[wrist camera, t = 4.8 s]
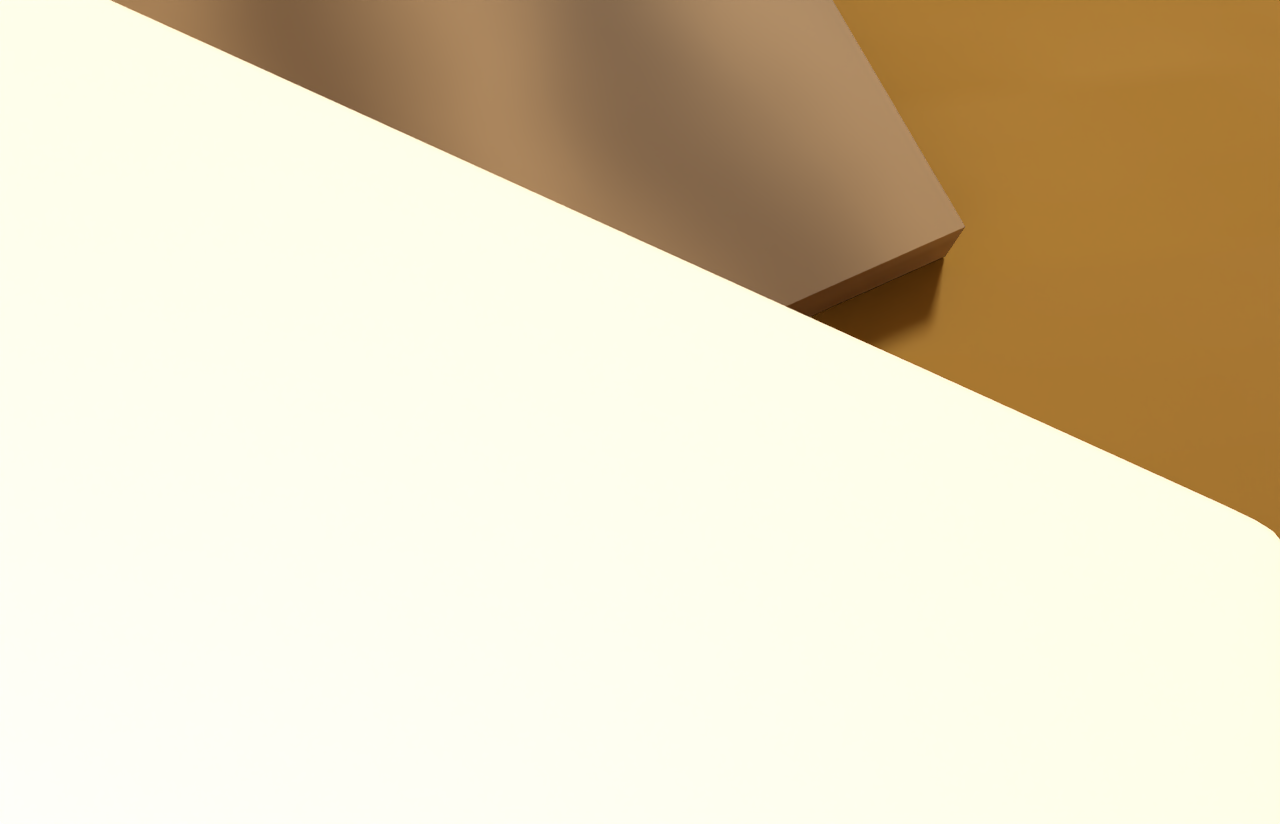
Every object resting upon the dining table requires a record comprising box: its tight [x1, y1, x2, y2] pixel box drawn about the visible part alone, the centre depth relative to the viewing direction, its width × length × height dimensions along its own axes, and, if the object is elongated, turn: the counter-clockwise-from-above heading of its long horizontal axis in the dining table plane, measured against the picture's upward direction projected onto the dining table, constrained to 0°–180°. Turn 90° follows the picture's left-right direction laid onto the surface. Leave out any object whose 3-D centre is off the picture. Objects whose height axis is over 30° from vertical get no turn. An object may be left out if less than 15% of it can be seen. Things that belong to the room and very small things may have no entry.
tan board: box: [111, 0, 965, 317], centre depth 25 cm, size 20×16×2 cm
